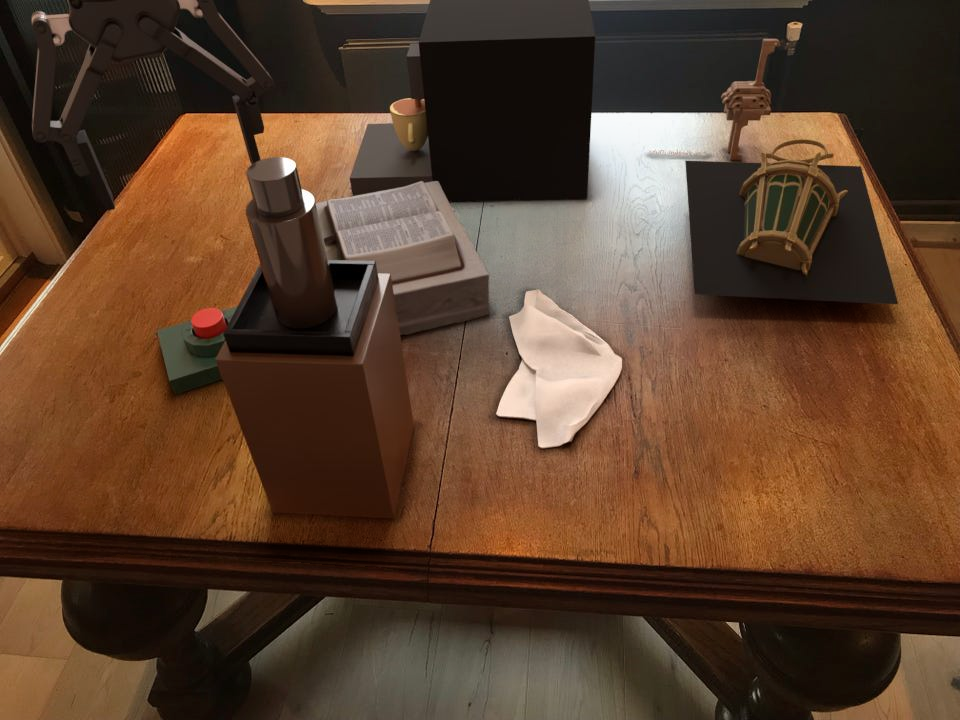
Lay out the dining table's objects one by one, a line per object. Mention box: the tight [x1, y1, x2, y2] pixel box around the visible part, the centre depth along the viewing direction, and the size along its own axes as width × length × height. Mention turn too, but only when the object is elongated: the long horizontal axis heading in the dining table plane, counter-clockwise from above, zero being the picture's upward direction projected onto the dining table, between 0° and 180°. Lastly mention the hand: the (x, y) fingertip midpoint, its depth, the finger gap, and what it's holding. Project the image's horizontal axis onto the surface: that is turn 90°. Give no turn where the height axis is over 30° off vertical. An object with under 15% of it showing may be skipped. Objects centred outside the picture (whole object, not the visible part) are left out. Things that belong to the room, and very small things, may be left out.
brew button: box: [190, 307, 226, 339], centre depth 90 cm, size 4×4×2 cm
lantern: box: [684, 138, 899, 305], centre depth 99 cm, size 14×23×30 cm
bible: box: [316, 181, 491, 336], centre depth 99 cm, size 23×27×10 cm
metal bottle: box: [245, 156, 338, 329], centre depth 60 cm, size 5×5×13 cm
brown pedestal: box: [215, 260, 415, 520], centre depth 71 cm, size 12×12×22 cm
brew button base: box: [156, 305, 238, 395], centre depth 91 cm, size 12×10×4 cm
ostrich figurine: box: [649, 38, 781, 161], centre depth 117 cm, size 17×7×18 cm, turn 84°
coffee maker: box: [349, 0, 596, 203], centre depth 114 cm, size 18×35×24 cm, turn 88°
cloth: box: [495, 288, 623, 450], centre depth 88 cm, size 26×14×2 cm, turn 172°
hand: (185, 184), depth 72 cm, fingers open, 13 cm apart
